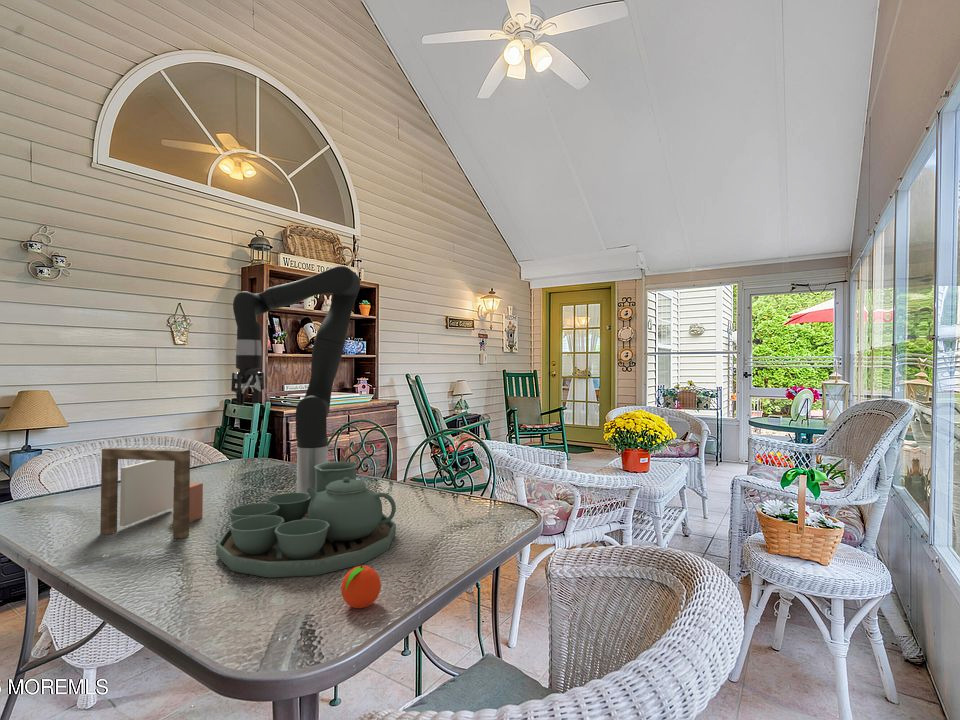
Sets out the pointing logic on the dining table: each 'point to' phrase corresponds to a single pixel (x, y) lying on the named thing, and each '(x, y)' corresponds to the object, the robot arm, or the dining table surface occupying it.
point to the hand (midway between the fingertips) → (248, 404)
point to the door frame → (177, 455)
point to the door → (146, 490)
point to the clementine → (360, 586)
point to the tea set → (310, 528)
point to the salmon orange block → (195, 501)
